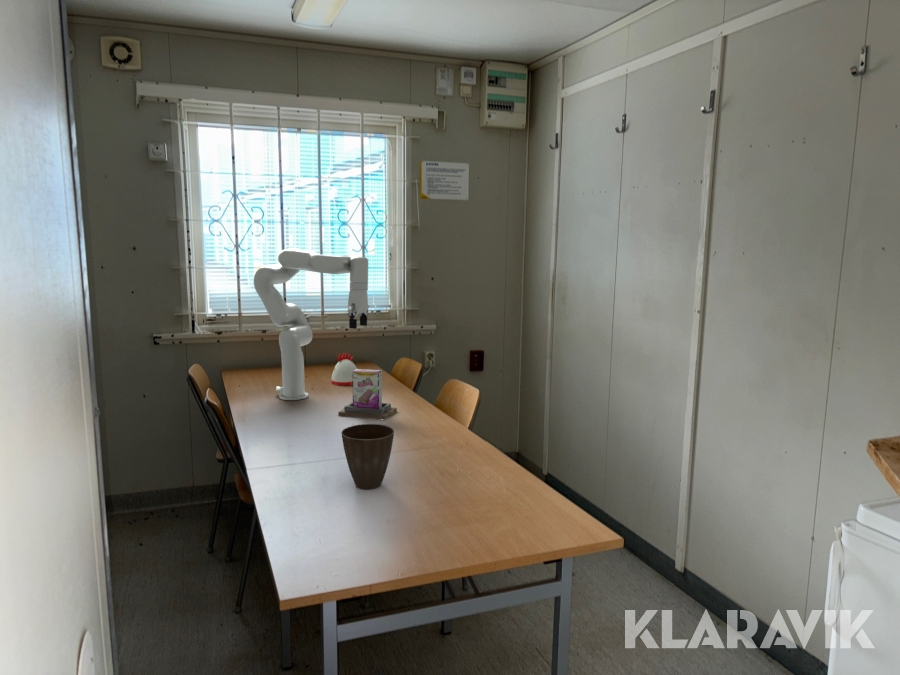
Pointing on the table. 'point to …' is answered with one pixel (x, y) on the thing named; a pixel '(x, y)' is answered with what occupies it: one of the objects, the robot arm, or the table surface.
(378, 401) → the candy bar box
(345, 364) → the kitchen timer
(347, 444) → the plant pot
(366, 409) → the stand
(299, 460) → the table surface
